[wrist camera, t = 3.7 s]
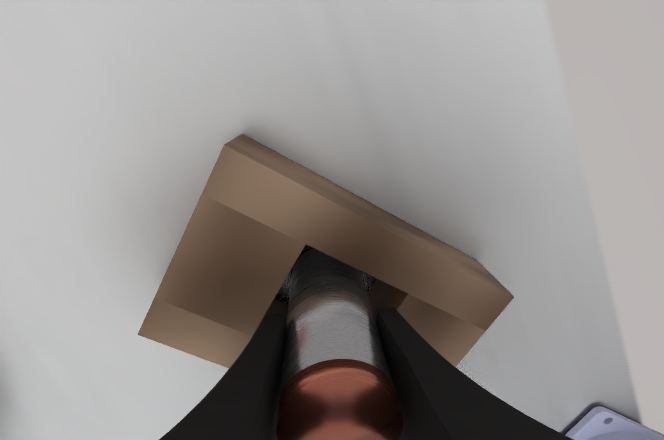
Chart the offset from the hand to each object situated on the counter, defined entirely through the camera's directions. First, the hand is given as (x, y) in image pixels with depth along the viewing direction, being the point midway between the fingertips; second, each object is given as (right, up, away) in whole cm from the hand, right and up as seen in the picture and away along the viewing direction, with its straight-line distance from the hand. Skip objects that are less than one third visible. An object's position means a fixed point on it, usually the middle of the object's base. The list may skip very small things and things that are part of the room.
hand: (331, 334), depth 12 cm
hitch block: (0, +1, +4) cm, 4 cm away
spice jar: (0, +1, +4) cm, 4 cm away
